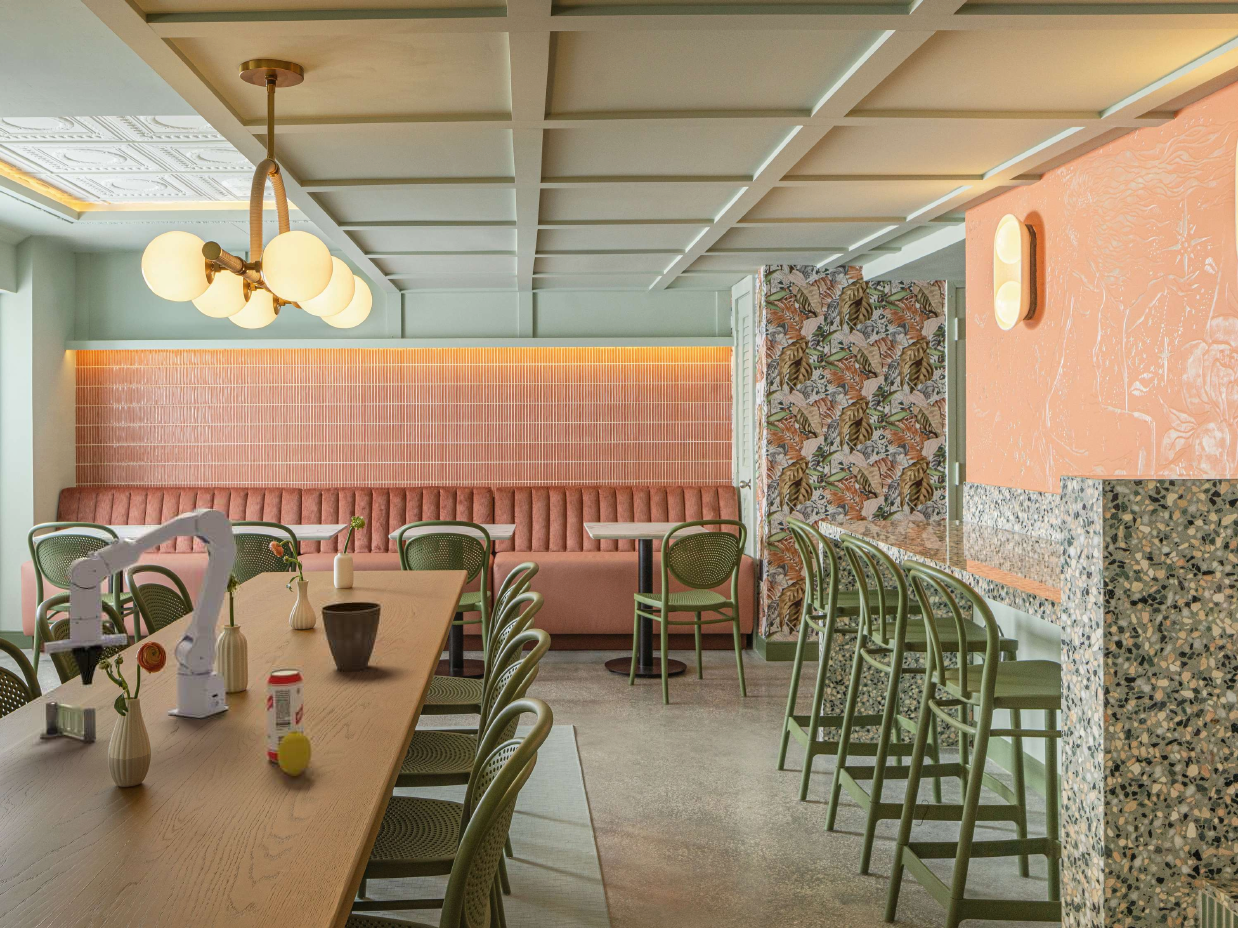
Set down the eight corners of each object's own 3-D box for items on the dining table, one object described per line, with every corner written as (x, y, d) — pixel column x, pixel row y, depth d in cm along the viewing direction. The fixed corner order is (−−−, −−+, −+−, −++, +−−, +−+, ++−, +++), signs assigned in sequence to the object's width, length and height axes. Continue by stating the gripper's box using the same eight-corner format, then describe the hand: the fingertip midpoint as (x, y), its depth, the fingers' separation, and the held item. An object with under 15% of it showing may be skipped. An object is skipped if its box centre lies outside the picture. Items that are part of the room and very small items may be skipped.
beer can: (266, 765, 171) (265, 676, 170) (269, 754, 177) (268, 669, 176) (302, 762, 172) (301, 674, 172) (304, 751, 178) (303, 666, 178)
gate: (97, 739, 186) (97, 708, 185) (87, 741, 184) (87, 711, 184) (63, 729, 192) (62, 700, 192) (53, 732, 190) (52, 702, 190)
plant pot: (372, 674, 239) (371, 611, 239) (313, 674, 239) (313, 611, 239) (388, 661, 254) (387, 601, 254) (332, 661, 254) (332, 601, 254)
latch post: (68, 733, 190) (68, 701, 190) (49, 739, 186) (49, 706, 186) (54, 731, 192) (53, 699, 192) (35, 737, 188) (35, 704, 188)
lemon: (300, 768, 169) (299, 723, 169) (317, 775, 165) (317, 729, 165) (271, 776, 165) (271, 730, 165) (289, 783, 161) (288, 737, 161)
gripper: (47, 624, 185) (48, 693, 185) (129, 615, 194) (130, 681, 194) (42, 619, 190) (43, 686, 191) (122, 611, 199) (123, 675, 200)
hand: (87, 683), depth 193 cm, fingers closed
